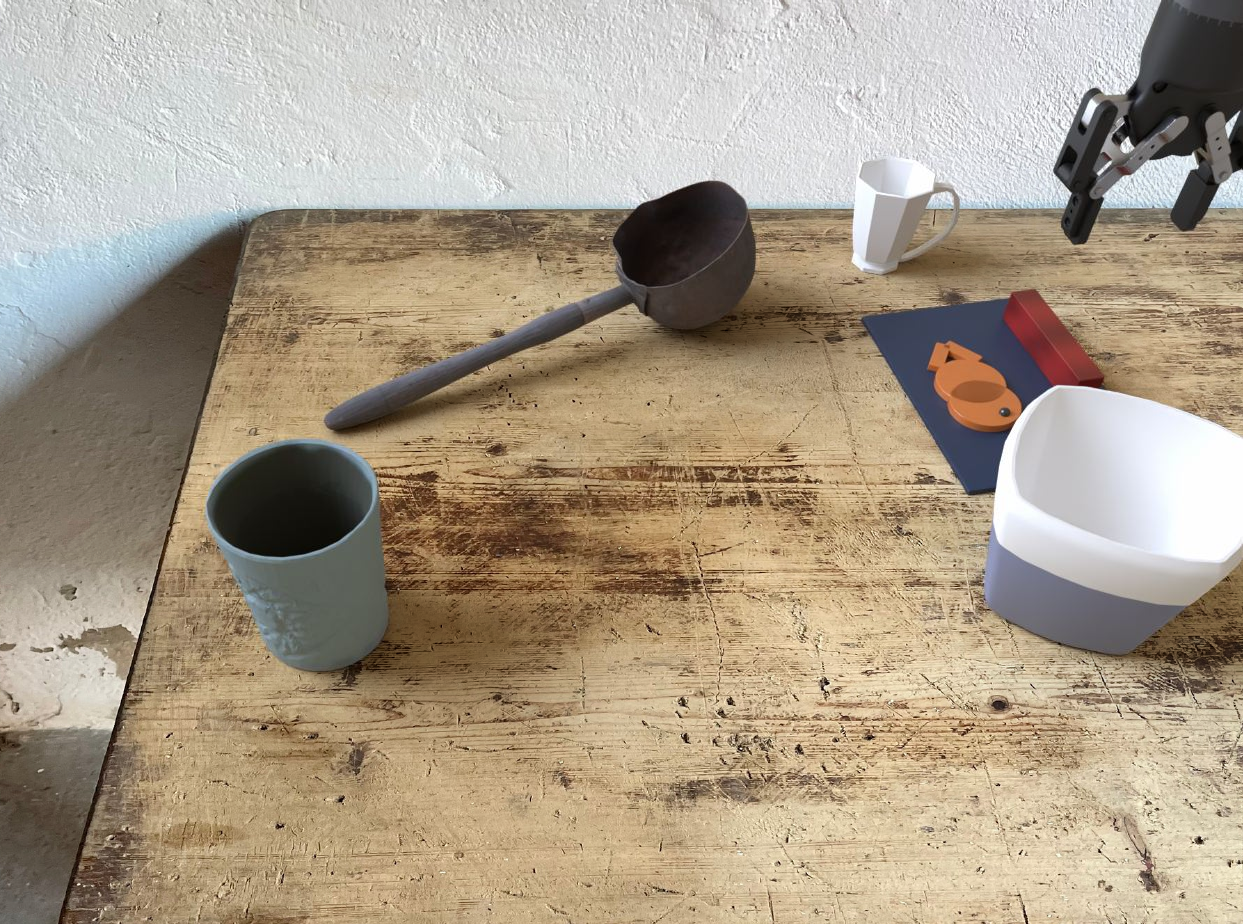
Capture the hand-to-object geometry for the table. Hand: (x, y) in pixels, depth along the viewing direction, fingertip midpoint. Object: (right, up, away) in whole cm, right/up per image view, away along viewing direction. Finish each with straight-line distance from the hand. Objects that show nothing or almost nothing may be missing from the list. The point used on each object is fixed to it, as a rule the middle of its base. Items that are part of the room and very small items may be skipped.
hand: (1127, 232), depth 81 cm
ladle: (-43, -6, +11) cm, 45 cm away
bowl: (-6, -26, -3) cm, 27 cm away
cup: (-11, +5, +21) cm, 24 cm away
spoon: (0, -9, +9) cm, 13 cm away
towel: (-5, -9, +10) cm, 14 cm away
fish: (-8, -9, +9) cm, 15 cm away
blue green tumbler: (-57, -29, -6) cm, 65 cm away
